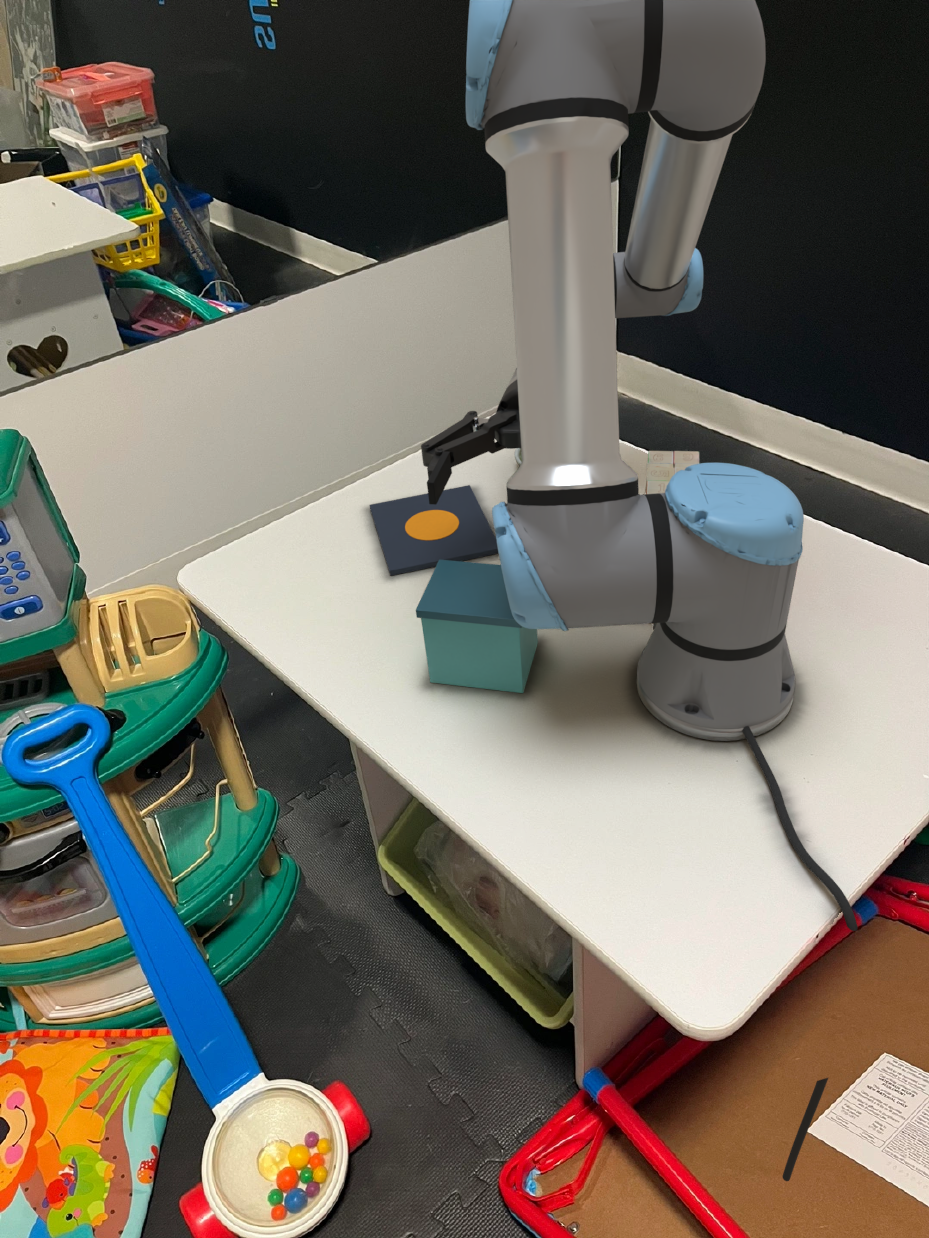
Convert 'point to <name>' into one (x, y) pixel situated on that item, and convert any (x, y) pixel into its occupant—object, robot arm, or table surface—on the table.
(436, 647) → the teal box
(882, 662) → the table surface
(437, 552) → the mat
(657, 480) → the stack of blocks
